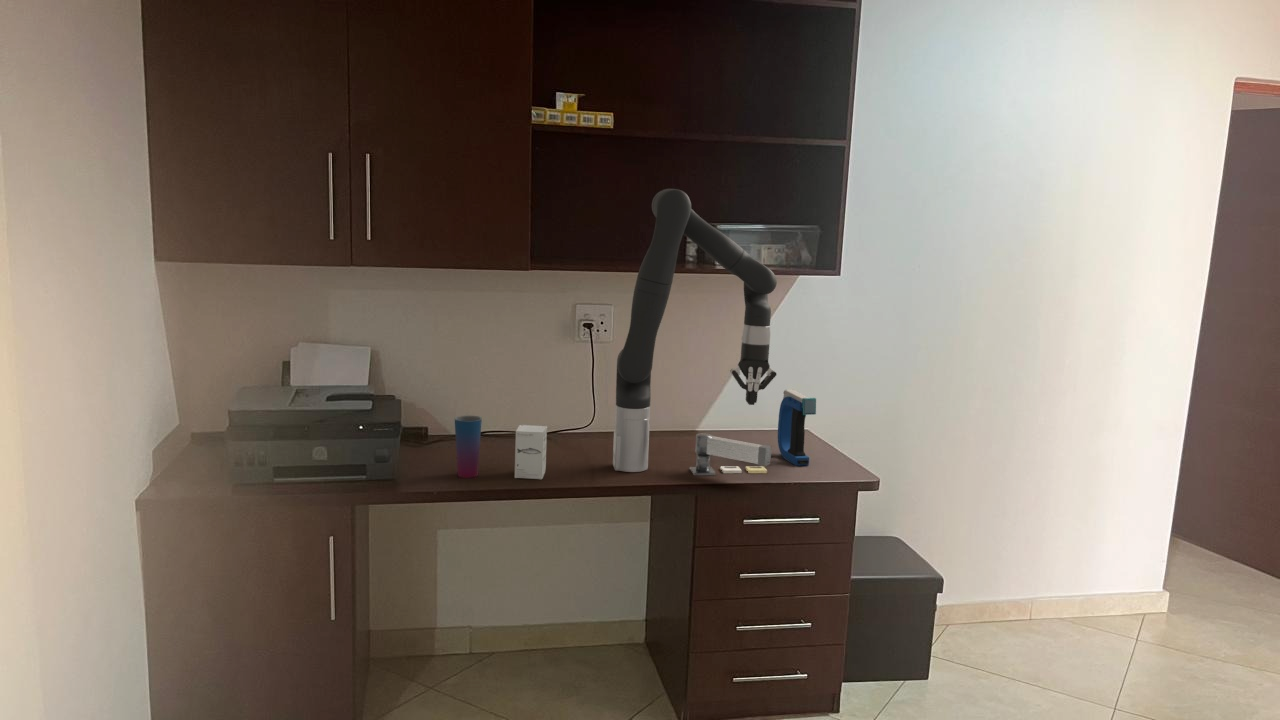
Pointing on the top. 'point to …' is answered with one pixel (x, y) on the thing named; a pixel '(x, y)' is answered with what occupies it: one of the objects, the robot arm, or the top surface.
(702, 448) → the bar
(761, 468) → the label plate
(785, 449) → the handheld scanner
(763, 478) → the top surface
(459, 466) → the cup
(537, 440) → the supplement box
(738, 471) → the label plate
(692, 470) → the gray square plate
